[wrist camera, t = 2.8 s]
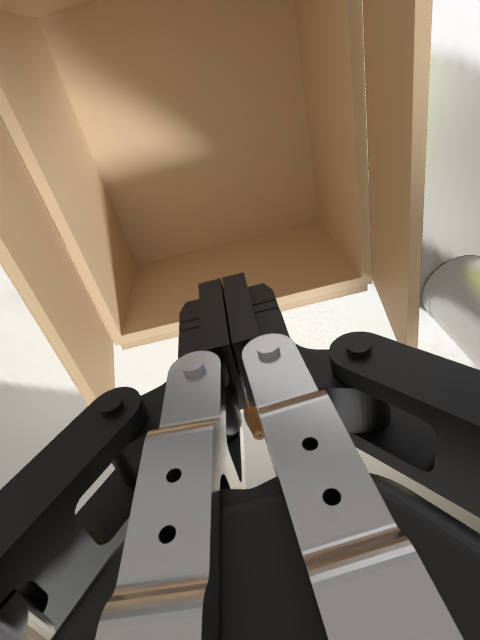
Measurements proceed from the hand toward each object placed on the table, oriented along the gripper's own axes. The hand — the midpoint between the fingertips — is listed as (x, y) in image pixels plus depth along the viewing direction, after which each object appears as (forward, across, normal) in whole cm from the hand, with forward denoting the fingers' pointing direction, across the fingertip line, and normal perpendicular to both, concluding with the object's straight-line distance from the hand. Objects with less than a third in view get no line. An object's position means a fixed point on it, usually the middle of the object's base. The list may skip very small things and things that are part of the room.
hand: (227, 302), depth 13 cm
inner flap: (+12, -10, 0) cm, 15 cm away
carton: (+31, 0, 0) cm, 31 cm away
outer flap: (+12, +10, 0) cm, 15 cm away
